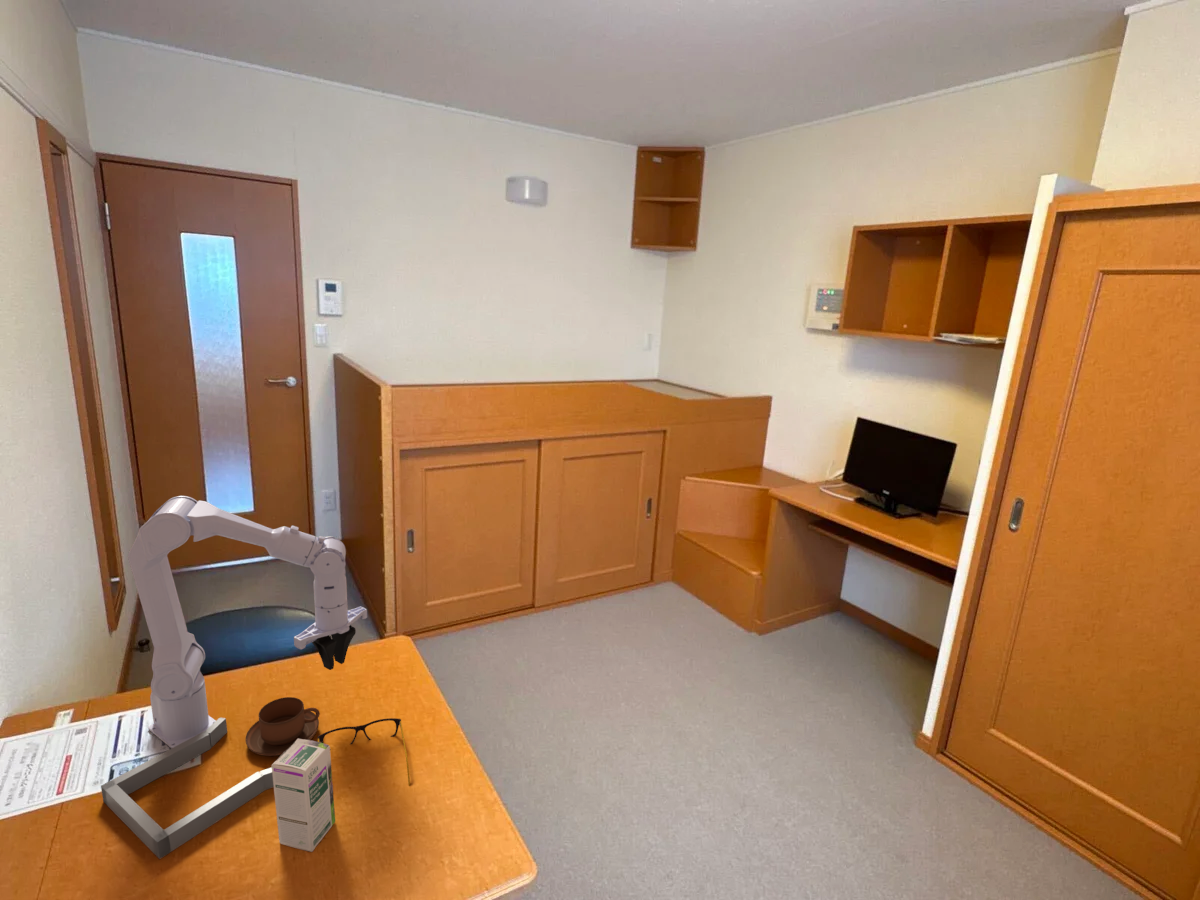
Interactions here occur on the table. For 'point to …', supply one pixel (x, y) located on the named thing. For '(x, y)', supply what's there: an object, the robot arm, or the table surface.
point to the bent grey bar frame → (195, 821)
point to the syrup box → (303, 794)
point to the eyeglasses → (362, 727)
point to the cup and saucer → (281, 726)
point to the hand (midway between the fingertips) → (334, 664)
